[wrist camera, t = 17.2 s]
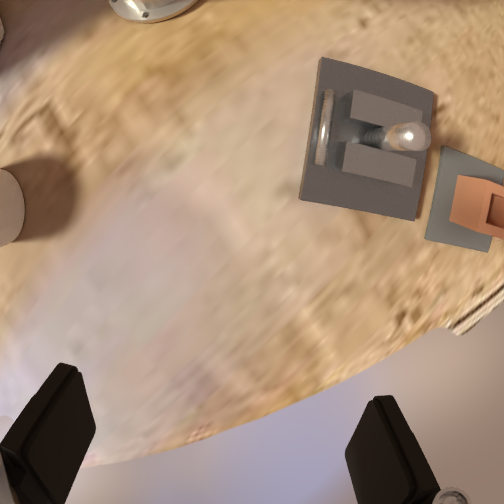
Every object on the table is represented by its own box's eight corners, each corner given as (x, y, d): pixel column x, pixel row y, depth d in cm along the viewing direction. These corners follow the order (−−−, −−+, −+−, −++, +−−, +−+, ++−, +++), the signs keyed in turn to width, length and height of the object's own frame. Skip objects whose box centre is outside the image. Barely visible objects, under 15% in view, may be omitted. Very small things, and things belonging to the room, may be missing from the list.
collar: (457, 174, 33) (486, 179, 27) (488, 185, 33) (516, 192, 27) (449, 220, 35) (476, 231, 29) (479, 228, 35) (506, 239, 29)
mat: (441, 145, 32) (444, 145, 32) (502, 170, 33) (504, 171, 33) (424, 238, 36) (426, 239, 35) (485, 251, 36) (487, 252, 36)
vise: (318, 60, 30) (348, 22, 19) (427, 93, 31) (485, 78, 20) (298, 198, 34) (321, 218, 23) (408, 219, 35) (463, 244, 24)
